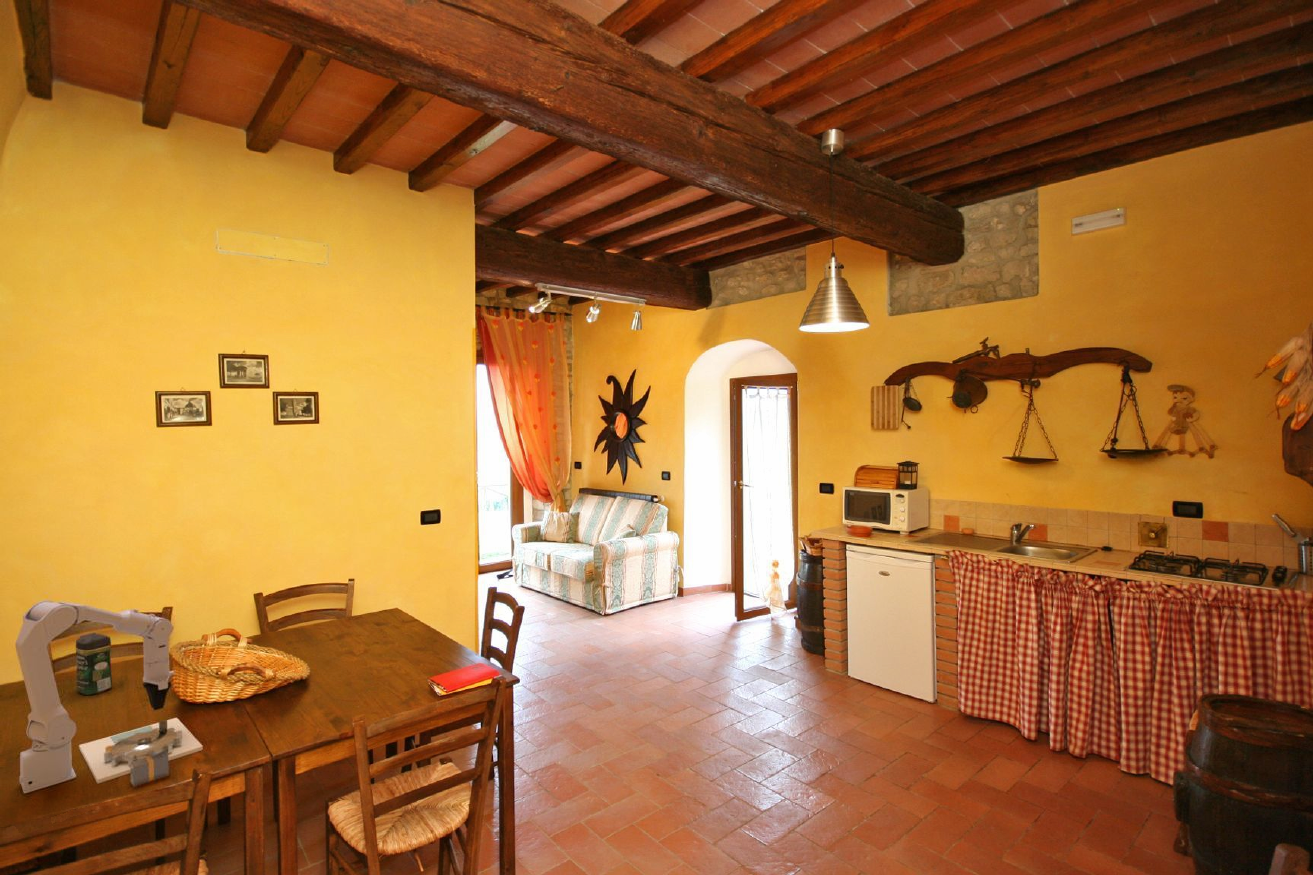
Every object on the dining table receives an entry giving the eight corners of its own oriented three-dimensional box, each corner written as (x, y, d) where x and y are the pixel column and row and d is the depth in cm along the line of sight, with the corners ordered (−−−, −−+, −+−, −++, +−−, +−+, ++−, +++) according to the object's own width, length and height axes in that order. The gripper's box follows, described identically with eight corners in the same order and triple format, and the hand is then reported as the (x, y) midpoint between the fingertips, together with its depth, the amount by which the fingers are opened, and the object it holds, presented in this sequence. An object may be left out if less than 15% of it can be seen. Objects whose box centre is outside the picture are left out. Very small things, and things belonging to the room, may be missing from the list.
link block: (133, 787, 160) (133, 766, 160) (130, 782, 162) (130, 761, 162) (168, 775, 165) (168, 755, 165) (165, 770, 167) (164, 751, 167)
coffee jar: (72, 691, 216) (71, 636, 215) (101, 683, 223) (100, 629, 222) (87, 697, 211) (85, 640, 211) (116, 688, 218) (115, 633, 218)
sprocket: (110, 772, 164) (110, 753, 164) (98, 750, 175) (97, 732, 175) (190, 747, 176) (189, 729, 176) (173, 728, 187) (173, 711, 187)
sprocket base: (97, 783, 162) (97, 778, 162) (79, 748, 179) (79, 744, 179) (202, 749, 178) (202, 745, 178) (176, 720, 195) (176, 716, 195)
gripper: (180, 662, 183) (181, 710, 183) (167, 650, 192) (167, 695, 193) (149, 669, 178) (150, 718, 178) (136, 656, 187) (137, 703, 188)
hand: (157, 707), depth 185 cm, fingers closed
